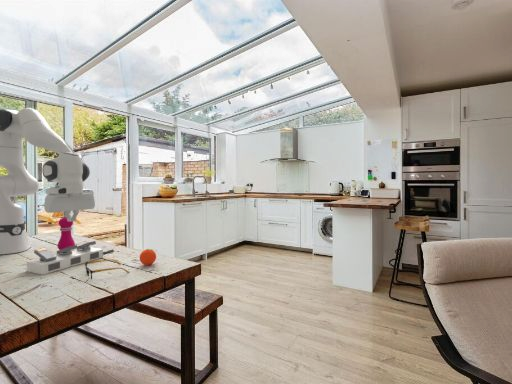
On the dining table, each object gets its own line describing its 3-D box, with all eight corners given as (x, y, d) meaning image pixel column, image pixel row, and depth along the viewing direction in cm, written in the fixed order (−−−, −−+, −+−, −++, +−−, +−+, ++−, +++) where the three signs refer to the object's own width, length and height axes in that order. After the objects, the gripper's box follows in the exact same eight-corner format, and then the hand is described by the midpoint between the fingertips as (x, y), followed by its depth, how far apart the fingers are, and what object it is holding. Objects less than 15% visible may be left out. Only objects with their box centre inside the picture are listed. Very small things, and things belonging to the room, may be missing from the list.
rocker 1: (33, 252, 117) (34, 249, 116) (43, 250, 120) (44, 247, 120) (46, 261, 114) (47, 258, 113) (56, 259, 117) (56, 256, 117)
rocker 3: (76, 249, 133) (76, 246, 133) (84, 248, 137) (83, 245, 137) (88, 245, 130) (87, 242, 130) (96, 243, 133) (95, 240, 134)
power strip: (26, 271, 115) (26, 258, 114) (106, 250, 149) (106, 240, 148) (42, 274, 111) (42, 261, 110) (120, 252, 145) (120, 242, 145)
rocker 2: (57, 254, 125) (56, 251, 125) (65, 252, 128) (65, 249, 128) (69, 249, 122) (68, 246, 122) (77, 248, 125) (76, 244, 125)
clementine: (154, 261, 131) (154, 245, 130) (161, 264, 126) (161, 248, 126) (137, 264, 125) (136, 248, 125) (143, 268, 120) (143, 251, 120)
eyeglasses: (83, 271, 117) (83, 261, 116) (121, 265, 126) (121, 256, 125) (88, 281, 105) (88, 270, 105) (129, 273, 114) (129, 264, 114)
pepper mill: (66, 256, 136) (65, 215, 135) (53, 255, 138) (53, 214, 137) (78, 252, 143) (78, 213, 142) (66, 252, 145) (65, 213, 144)
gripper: (88, 188, 133) (88, 217, 134) (41, 189, 114) (42, 223, 115) (97, 188, 131) (98, 218, 132) (51, 190, 112) (52, 224, 113)
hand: (71, 221), depth 123 cm, fingers closed
